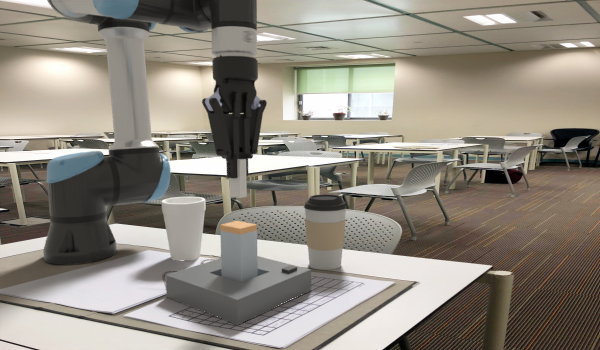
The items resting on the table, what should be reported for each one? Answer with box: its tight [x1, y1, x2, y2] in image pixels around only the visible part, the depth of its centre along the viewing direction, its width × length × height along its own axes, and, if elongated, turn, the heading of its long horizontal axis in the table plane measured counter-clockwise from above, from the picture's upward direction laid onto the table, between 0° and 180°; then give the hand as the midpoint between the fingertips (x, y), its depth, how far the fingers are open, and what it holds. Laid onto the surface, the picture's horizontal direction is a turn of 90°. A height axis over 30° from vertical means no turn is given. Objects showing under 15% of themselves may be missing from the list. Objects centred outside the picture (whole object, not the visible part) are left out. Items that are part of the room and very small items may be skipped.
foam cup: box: [161, 196, 207, 261], centre depth 105 cm, size 10×9×13 cm
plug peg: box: [219, 220, 258, 282], centre depth 82 cm, size 5×4×12 cm
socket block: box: [165, 255, 312, 326], centre depth 83 cm, size 18×18×5 cm
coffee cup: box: [303, 193, 348, 271], centre depth 99 cm, size 9×9×15 cm
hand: (238, 196), depth 81 cm, fingers closed
